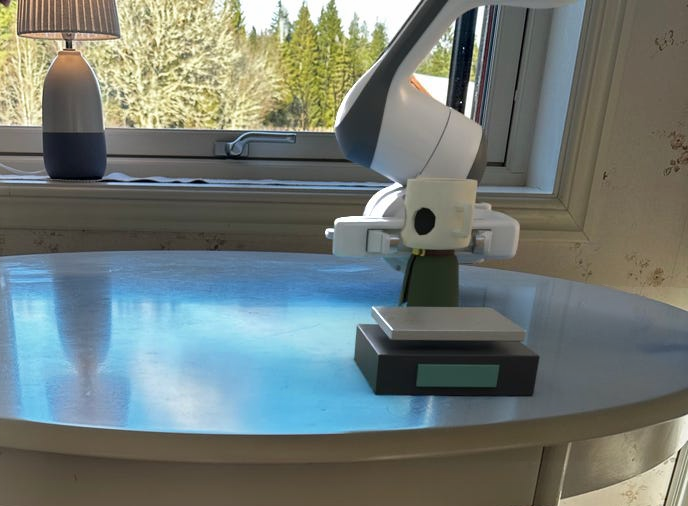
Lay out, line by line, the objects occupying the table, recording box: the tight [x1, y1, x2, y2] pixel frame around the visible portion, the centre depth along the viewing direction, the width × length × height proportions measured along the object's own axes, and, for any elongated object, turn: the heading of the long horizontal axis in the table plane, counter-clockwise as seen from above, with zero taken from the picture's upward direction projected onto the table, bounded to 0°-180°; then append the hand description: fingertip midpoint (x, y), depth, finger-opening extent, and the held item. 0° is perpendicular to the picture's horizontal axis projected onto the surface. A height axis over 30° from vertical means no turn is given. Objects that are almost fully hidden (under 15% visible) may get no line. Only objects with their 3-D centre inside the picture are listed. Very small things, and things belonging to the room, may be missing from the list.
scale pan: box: [370, 305, 527, 343], centre depth 75 cm, size 10×10×1 cm
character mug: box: [397, 178, 478, 307], centre depth 100 cm, size 11×7×13 cm, turn 23°
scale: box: [353, 323, 541, 397], centre depth 77 cm, size 12×12×3 cm
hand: (437, 245), depth 99 cm, fingers open, 8 cm apart
